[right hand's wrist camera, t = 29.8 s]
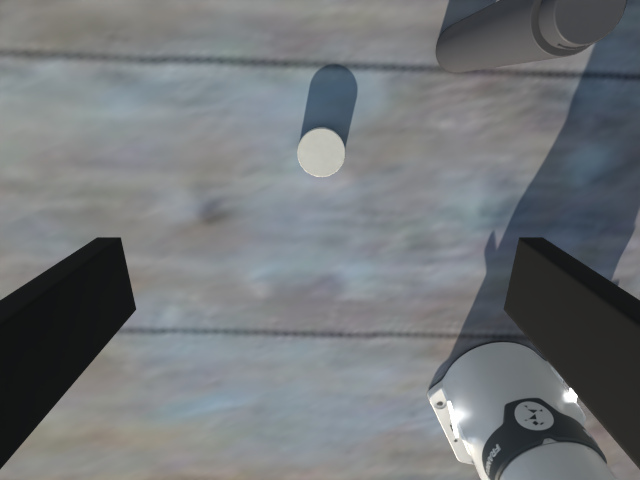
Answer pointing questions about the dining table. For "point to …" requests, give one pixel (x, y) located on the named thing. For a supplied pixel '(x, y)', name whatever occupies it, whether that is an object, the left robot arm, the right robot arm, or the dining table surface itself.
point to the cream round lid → (321, 152)
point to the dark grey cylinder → (525, 32)
